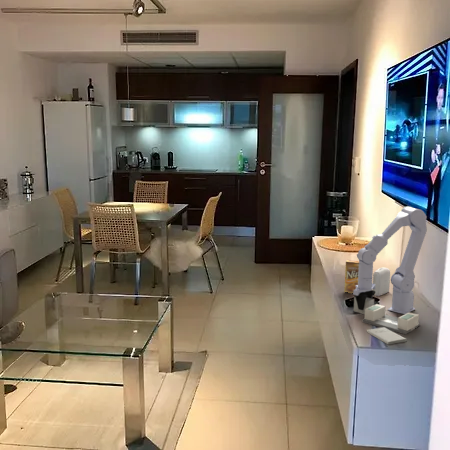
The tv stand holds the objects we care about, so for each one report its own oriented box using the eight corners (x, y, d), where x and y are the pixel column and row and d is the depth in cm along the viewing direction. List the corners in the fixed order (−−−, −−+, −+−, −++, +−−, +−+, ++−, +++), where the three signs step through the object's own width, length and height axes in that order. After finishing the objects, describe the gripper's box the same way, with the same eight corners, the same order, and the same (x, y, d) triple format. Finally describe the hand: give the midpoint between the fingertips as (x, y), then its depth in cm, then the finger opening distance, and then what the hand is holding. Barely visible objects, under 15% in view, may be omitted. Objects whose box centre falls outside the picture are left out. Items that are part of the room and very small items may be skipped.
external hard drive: (387, 346, 181) (366, 333, 192) (406, 342, 183) (384, 330, 195) (388, 341, 180) (366, 329, 192) (406, 338, 183) (384, 326, 195)
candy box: (344, 292, 241) (345, 261, 238) (346, 290, 244) (347, 259, 242) (363, 295, 237) (364, 263, 234) (364, 293, 241) (366, 261, 238)
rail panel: (377, 314, 211) (378, 302, 210) (419, 326, 198) (420, 313, 197) (362, 322, 202) (363, 309, 201) (405, 334, 190) (406, 321, 189)
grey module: (358, 309, 218) (359, 295, 217) (373, 312, 213) (374, 299, 212) (353, 311, 215) (354, 297, 214) (368, 315, 210) (369, 301, 209)
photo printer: (379, 296, 235) (380, 270, 233) (370, 294, 238) (372, 269, 236) (390, 292, 242) (392, 267, 240) (382, 290, 245) (383, 265, 243)
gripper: (365, 272, 219) (364, 302, 222) (347, 278, 209) (346, 309, 212) (380, 275, 214) (379, 306, 217) (362, 281, 204) (361, 314, 207)
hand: (363, 308), depth 214 cm, fingers closed on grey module, 4 cm apart
